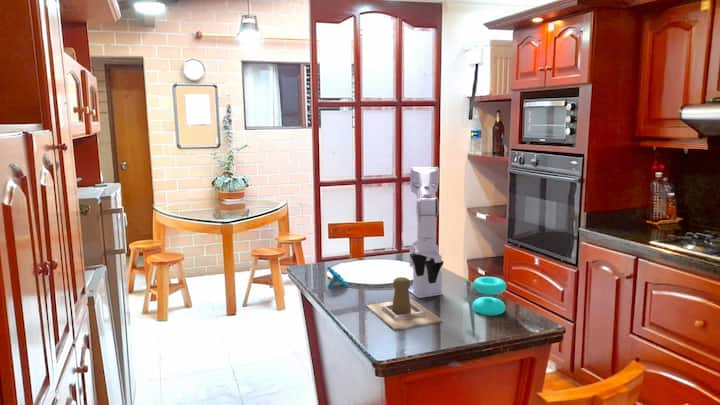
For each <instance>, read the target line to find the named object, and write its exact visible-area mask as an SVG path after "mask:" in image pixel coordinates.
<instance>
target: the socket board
mask: <svg viewBox="0 0 720 405" xmlns="http://www.w3.org/2000/svg"><path fill="white" fill-rule="evenodd" d="M409 299H410V307H411V313H407V314H401V315H397V314H395V313H394V312H393V311H392V307H393V300H392V301H385V302H378V303H371V304H366V308H367V309H369V310H370V311H371V312H372V313H373V314H374V315H376V317H378V319H380V320H381V321H382V322H383V323H385V324H386V325H387V326H388V327H389V328H391V329H392V330H393V331H399V330H406V329H411V328H417V327H422V326H428V325H434V324H439V323H443V322H444V321H443V319H442V318H441V317H439V316H438V315H436V314H434V312H432V311H430V310H429V309H427V308H425V306H423V305H421V304H420V303H419V302H417V301H416V300H414V299H413V298H411V297H409Z"/></svg>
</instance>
